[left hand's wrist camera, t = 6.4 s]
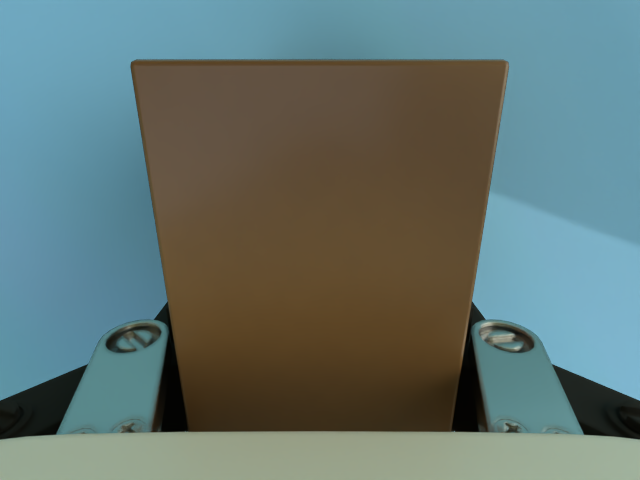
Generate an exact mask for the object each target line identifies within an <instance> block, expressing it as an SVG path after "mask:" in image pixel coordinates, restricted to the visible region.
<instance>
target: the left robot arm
mask: <svg viewBox="0 0 640 480" xmlns="http://www.w3.org/2000/svg"><path fill="white" fill-rule="evenodd" d="M185 431H186V432H185ZM454 431H455V432H454ZM0 480H640V401H639V400H636V399H634V398H632V397H629V396H627V395H625V394H622V393H620V392H617V391H615V390H613V389H610V388H608V387H605V386H603V385H601V384H598V383H596V382H593V381H591V380H589V379H586V378H584V377H581V376H579V375H577V374H574V373H572V372H569V371H567V370H565V369H562V368H560V367H557V366H555V365H553V364H552V363H551V361H550V359H549V357H548V355H547V353H546V350H545V348H544V346H543V344H542V342H541V340H540V339H539V338H538V336H537V335H535V334H534V333H533V332H532V331H530V330H528V329H527V328H525V327H523V326H521V325H518V324H515V323H512V322H508V321H503V320H493V319H490V320H485V318H484V317H483V315H482V314H481V313H480V311H479V310H478V309H477V307H476V306H475V305H474V303H473V302H472V303H471V309H470V316H469V322H468V328H467V335H466V341H465V347H464V354H463V360H462V366H461V373H460V379H459V385H458V392H457V398H456V404H455V410H454V417H453V423H452V429H451V432H363V431H277V432H188V426H187V420H186V414H185V407H184V401H183V395H182V388H181V382H180V376H179V369H178V363H177V357H176V350H175V344H174V338H173V332H172V325H171V319H170V313H169V306H168V302H167V303H166V304H165V306H164V307H163V308H162V310H161V311H160V312H159V314H158V315H157V316H156V318H155V319H154V320H150V319H147V320H137V321H132V322H128V323H125V324H122V325H119V326H117V327H115V328H113V329H112V330H110V331H108V332H107V333H106V334H105V335H103V336H102V338H101V339H100V340H99V342H98V344H97V346H96V348H95V350H94V352H93V355H92V357H91V359H90V361H89V363H88V364H87V365H85V366H82V367H80V368H78V369H75V370H73V371H70V372H68V373H66V374H63V375H61V376H58V377H56V378H54V379H51V380H49V381H46V382H44V383H42V384H39V385H37V386H34V387H32V388H30V389H27V390H25V391H22V392H20V393H18V394H15V395H13V396H10V397H8V398H6V399H3V400H1V401H0Z"/></svg>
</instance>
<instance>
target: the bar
mask: <svg viewBox="0 0 640 480" xmlns="http://www.w3.org/2000/svg"><path fill="white" fill-rule="evenodd" d="M508 70H509V63H508V62H507V61H505V60H134V61H132V62H131V73H132V79H133V85H134V92H135V98H136V104H137V111H138V117H139V123H140V130H141V136H142V142H143V149H144V155H145V161H146V167H147V174H148V180H149V186H150V193H151V199H152V205H153V212H154V218H155V224H156V231H157V237H158V243H159V249H160V256H161V262H162V268H163V275H164V281H165V287H166V294H167V300H168V306H169V313H170V319H171V325H172V332H173V338H174V344H175V350H176V357H177V363H178V369H179V376H180V382H181V388H182V395H183V401H184V407H185V414H186V420H187V426H188V432H277V431H363V432H451V429H452V423H453V417H454V410H455V404H456V398H457V392H458V385H459V379H460V373H461V366H462V360H463V354H464V347H465V341H466V335H467V328H468V322H469V316H470V309H471V303H472V297H473V291H474V284H475V278H476V272H477V265H478V259H479V253H480V246H481V240H482V234H483V227H484V221H485V215H486V208H487V202H488V196H489V190H490V183H491V177H492V171H493V164H494V158H495V152H496V145H497V139H498V133H499V126H500V120H501V114H502V108H503V101H504V95H505V89H506V82H507V76H508Z"/></svg>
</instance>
